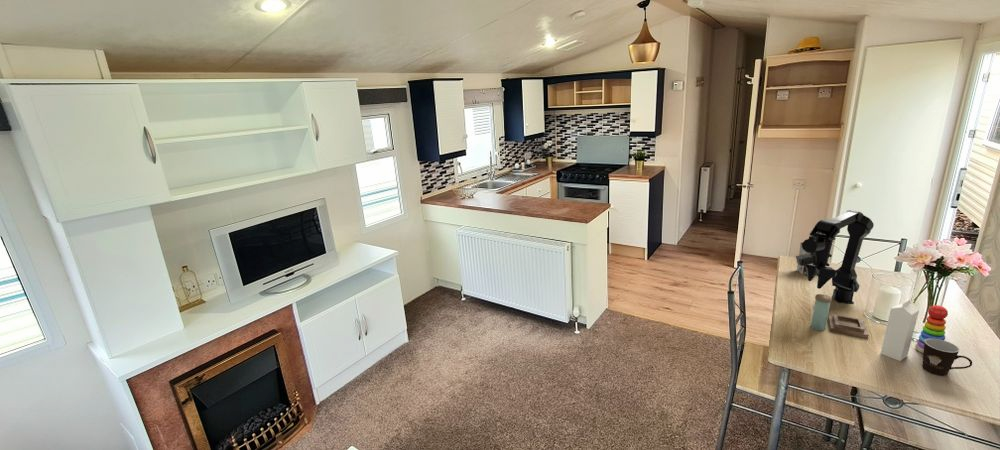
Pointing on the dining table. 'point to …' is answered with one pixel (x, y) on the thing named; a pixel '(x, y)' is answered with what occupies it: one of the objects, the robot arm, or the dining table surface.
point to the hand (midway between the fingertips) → (813, 284)
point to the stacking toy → (933, 326)
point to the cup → (820, 312)
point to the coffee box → (799, 268)
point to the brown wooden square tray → (848, 325)
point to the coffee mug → (940, 356)
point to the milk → (899, 331)
